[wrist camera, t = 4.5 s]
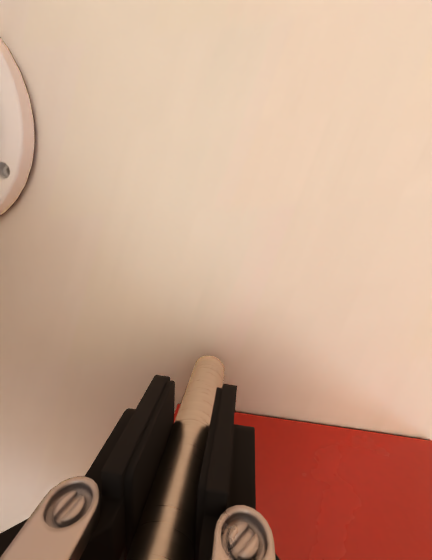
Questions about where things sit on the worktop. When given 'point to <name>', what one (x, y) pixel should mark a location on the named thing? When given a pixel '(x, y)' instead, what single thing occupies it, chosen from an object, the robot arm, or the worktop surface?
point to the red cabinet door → (296, 486)
